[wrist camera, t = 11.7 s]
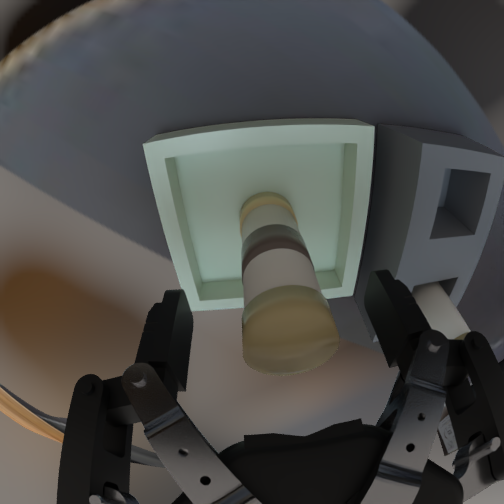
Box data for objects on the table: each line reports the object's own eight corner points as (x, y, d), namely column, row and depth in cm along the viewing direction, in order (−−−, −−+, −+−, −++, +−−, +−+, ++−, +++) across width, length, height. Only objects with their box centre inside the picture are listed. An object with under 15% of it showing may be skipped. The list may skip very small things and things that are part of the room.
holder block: (462, 135, 14) (508, 158, 10) (425, 285, 23) (448, 322, 19) (377, 123, 14) (422, 143, 10) (354, 297, 23) (372, 342, 19)
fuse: (427, 251, 19) (491, 344, 11) (416, 282, 21) (468, 373, 13) (394, 255, 19) (457, 360, 11) (385, 288, 21) (433, 388, 13)
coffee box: (424, 399, 45) (443, 457, 32) (442, 384, 41) (464, 445, 28) (447, 392, 46) (465, 444, 33) (463, 378, 43) (485, 432, 29)
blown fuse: (292, 189, 16) (347, 312, 8) (293, 237, 18) (332, 368, 10) (236, 194, 16) (237, 325, 8) (242, 241, 18) (247, 379, 10)
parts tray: (356, 119, 14) (374, 126, 12) (343, 273, 21) (352, 295, 19) (156, 134, 14) (142, 143, 12) (193, 288, 21) (189, 311, 19)
